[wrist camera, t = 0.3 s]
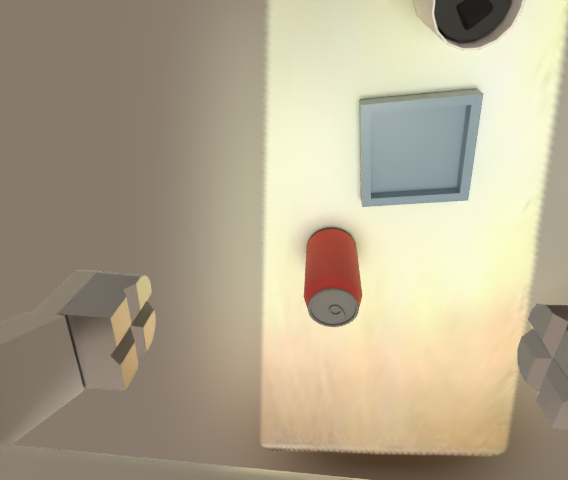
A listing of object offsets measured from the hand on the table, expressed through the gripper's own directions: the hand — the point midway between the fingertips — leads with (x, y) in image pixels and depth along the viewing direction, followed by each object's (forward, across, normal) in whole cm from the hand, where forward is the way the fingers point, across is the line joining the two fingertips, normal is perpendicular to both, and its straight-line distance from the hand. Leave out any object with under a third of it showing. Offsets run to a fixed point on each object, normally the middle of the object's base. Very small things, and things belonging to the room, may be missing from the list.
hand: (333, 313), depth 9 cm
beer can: (+42, -2, +21) cm, 47 cm away
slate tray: (+40, -10, +7) cm, 42 cm away
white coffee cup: (+39, -10, -8) cm, 41 cm away
